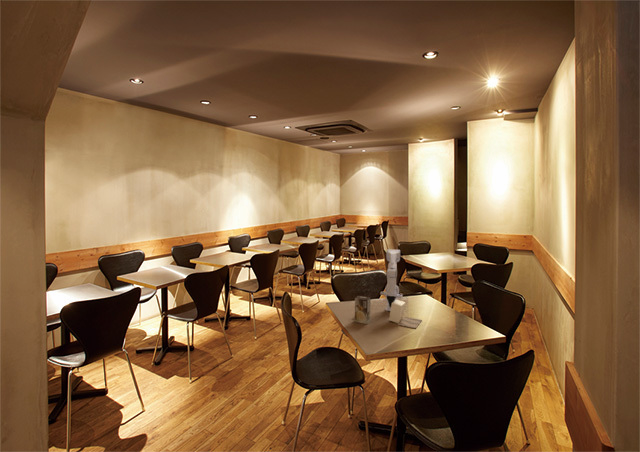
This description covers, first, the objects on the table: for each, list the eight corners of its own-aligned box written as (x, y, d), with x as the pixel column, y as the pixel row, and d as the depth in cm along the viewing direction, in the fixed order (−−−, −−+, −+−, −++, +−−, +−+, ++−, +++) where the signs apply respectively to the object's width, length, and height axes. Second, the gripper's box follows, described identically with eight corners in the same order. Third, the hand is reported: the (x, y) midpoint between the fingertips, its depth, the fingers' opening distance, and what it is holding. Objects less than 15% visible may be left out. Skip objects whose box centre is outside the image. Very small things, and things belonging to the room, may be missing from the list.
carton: (393, 315, 228) (396, 299, 226) (402, 319, 225) (405, 302, 223) (388, 320, 220) (391, 303, 219) (398, 323, 217) (401, 306, 215)
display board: (404, 317, 228) (404, 316, 228) (421, 320, 222) (421, 320, 222) (397, 325, 214) (397, 324, 214) (415, 329, 208) (415, 328, 208)
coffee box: (370, 321, 221) (371, 297, 219) (367, 324, 215) (367, 300, 213) (357, 318, 225) (358, 295, 223) (354, 321, 219) (354, 297, 218)
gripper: (379, 286, 223) (378, 306, 224) (400, 290, 215) (399, 310, 217) (382, 284, 229) (382, 303, 230) (403, 287, 221) (402, 307, 223)
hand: (390, 306), depth 224 cm, fingers closed
